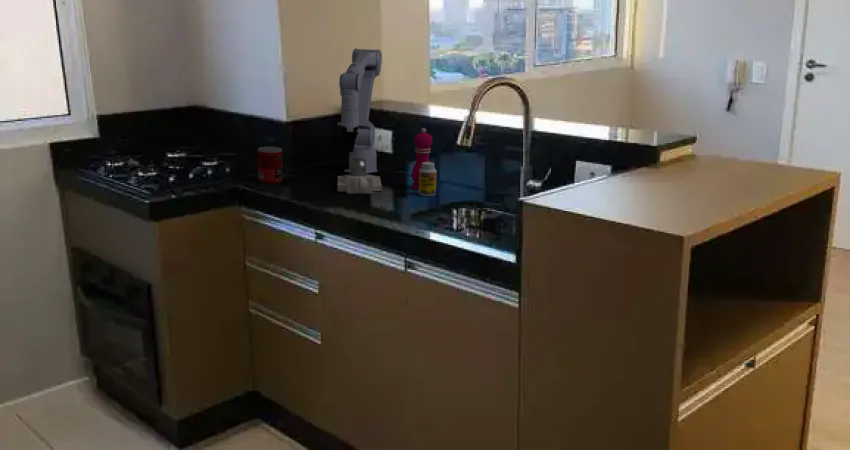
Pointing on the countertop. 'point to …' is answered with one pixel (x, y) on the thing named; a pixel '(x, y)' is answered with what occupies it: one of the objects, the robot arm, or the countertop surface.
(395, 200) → the countertop surface
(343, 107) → the robot arm
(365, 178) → the scale
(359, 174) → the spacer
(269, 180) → the canned food
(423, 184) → the supplement bottle
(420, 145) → the pepper mill
